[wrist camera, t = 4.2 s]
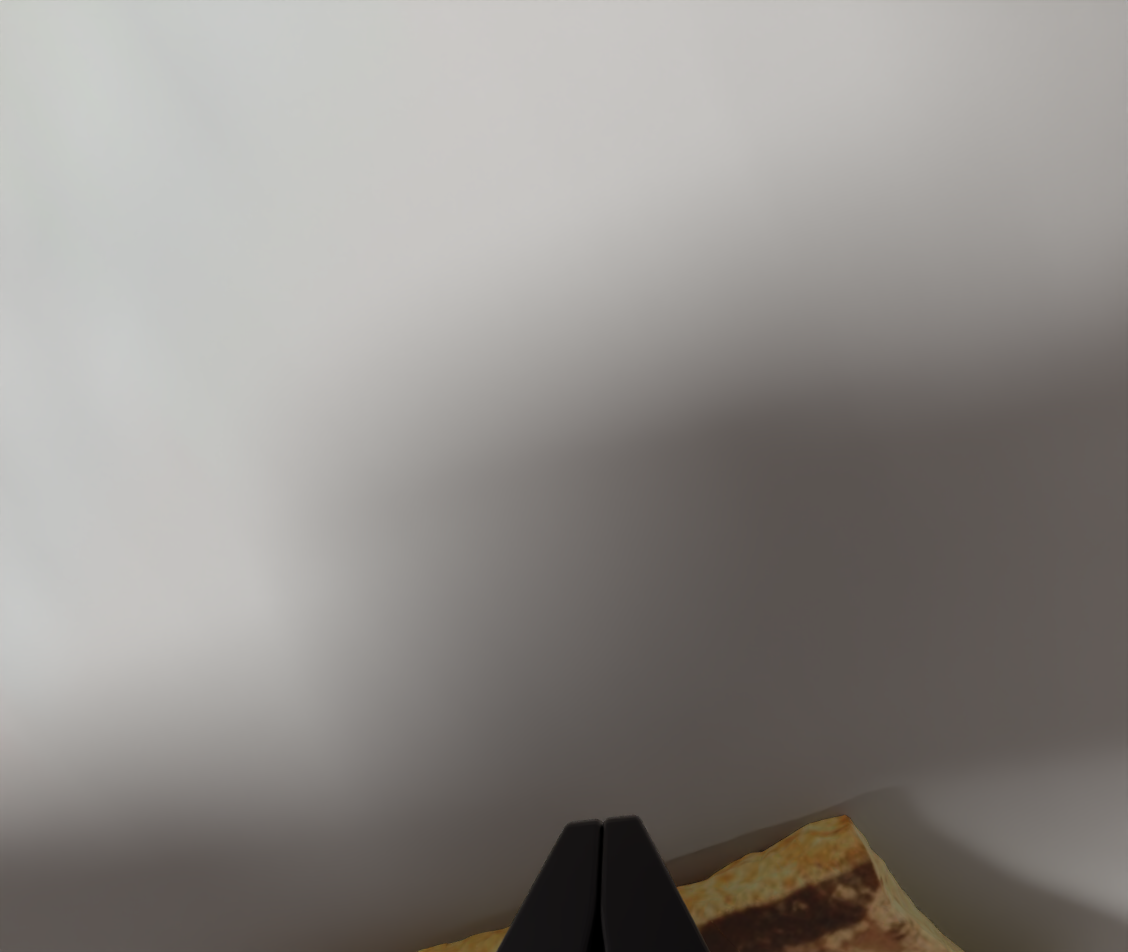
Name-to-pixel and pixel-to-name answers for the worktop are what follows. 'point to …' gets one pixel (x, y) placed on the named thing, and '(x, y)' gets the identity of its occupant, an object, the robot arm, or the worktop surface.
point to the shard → (796, 901)
